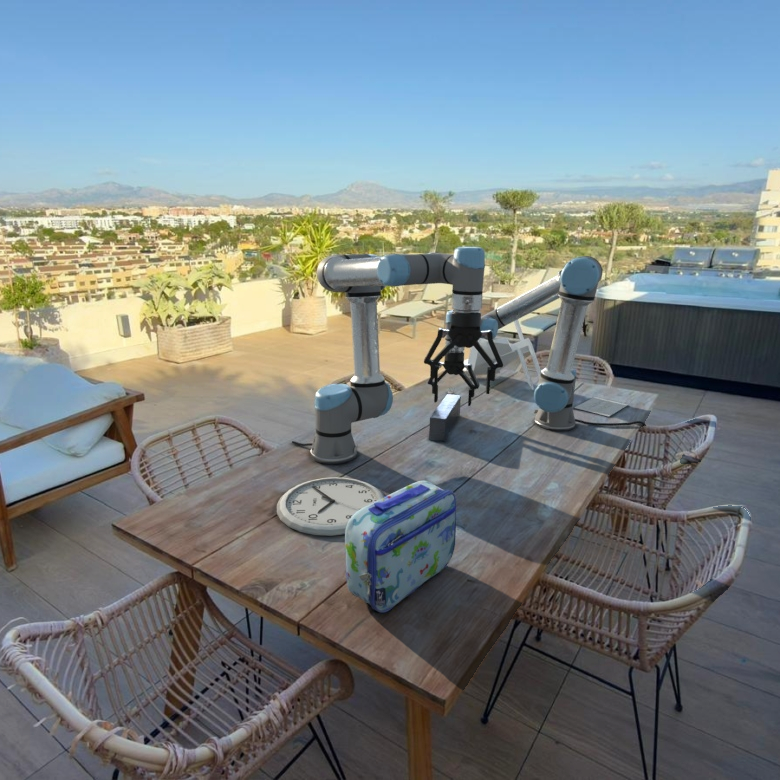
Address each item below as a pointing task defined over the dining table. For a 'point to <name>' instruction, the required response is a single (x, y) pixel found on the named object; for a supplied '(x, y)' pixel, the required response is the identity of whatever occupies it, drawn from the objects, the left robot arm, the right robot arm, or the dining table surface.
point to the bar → (444, 418)
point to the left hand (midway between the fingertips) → (461, 391)
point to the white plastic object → (503, 355)
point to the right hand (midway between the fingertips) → (452, 403)
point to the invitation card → (601, 406)
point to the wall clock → (325, 504)
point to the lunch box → (399, 543)
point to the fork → (450, 391)
